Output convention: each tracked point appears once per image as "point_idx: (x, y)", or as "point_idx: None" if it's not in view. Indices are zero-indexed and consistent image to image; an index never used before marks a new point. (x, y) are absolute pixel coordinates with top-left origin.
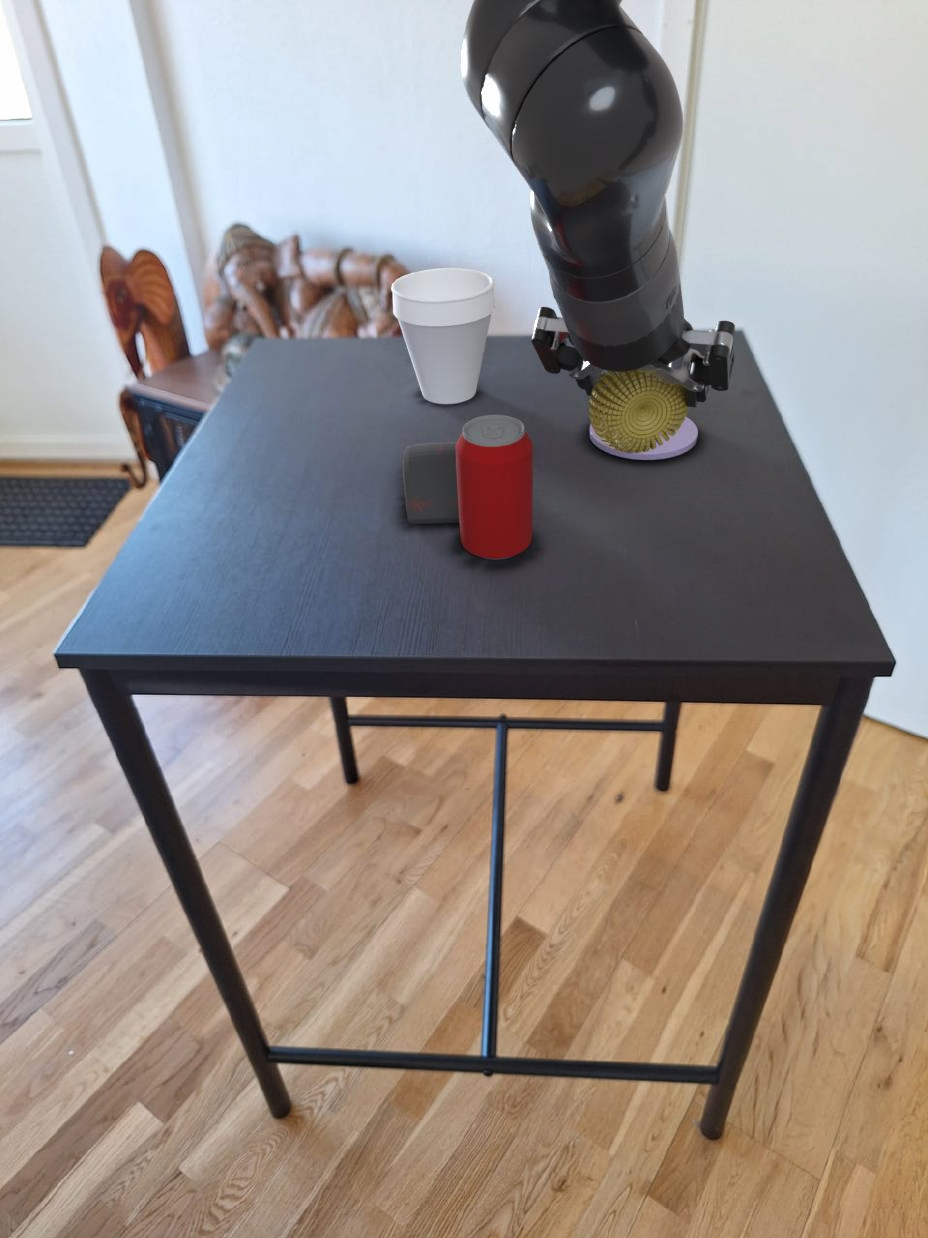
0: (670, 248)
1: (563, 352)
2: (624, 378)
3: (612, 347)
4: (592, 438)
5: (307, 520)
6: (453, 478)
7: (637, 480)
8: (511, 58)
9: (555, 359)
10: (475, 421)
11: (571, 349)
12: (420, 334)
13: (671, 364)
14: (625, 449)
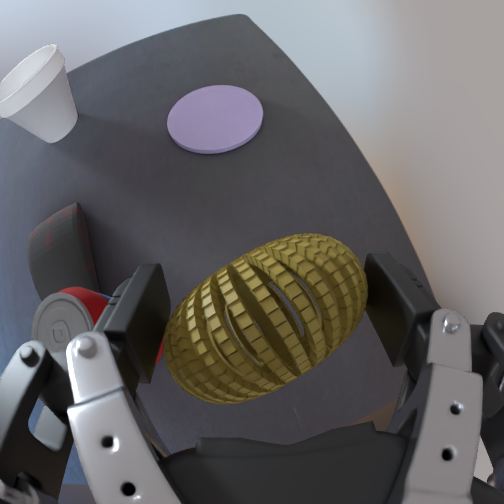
0: None
1: (58, 399)
2: (243, 393)
3: None
4: (172, 138)
5: (11, 338)
6: (67, 278)
7: (229, 182)
8: None
9: (65, 460)
10: (38, 315)
11: (68, 386)
12: (15, 118)
13: (401, 434)
14: (257, 363)
